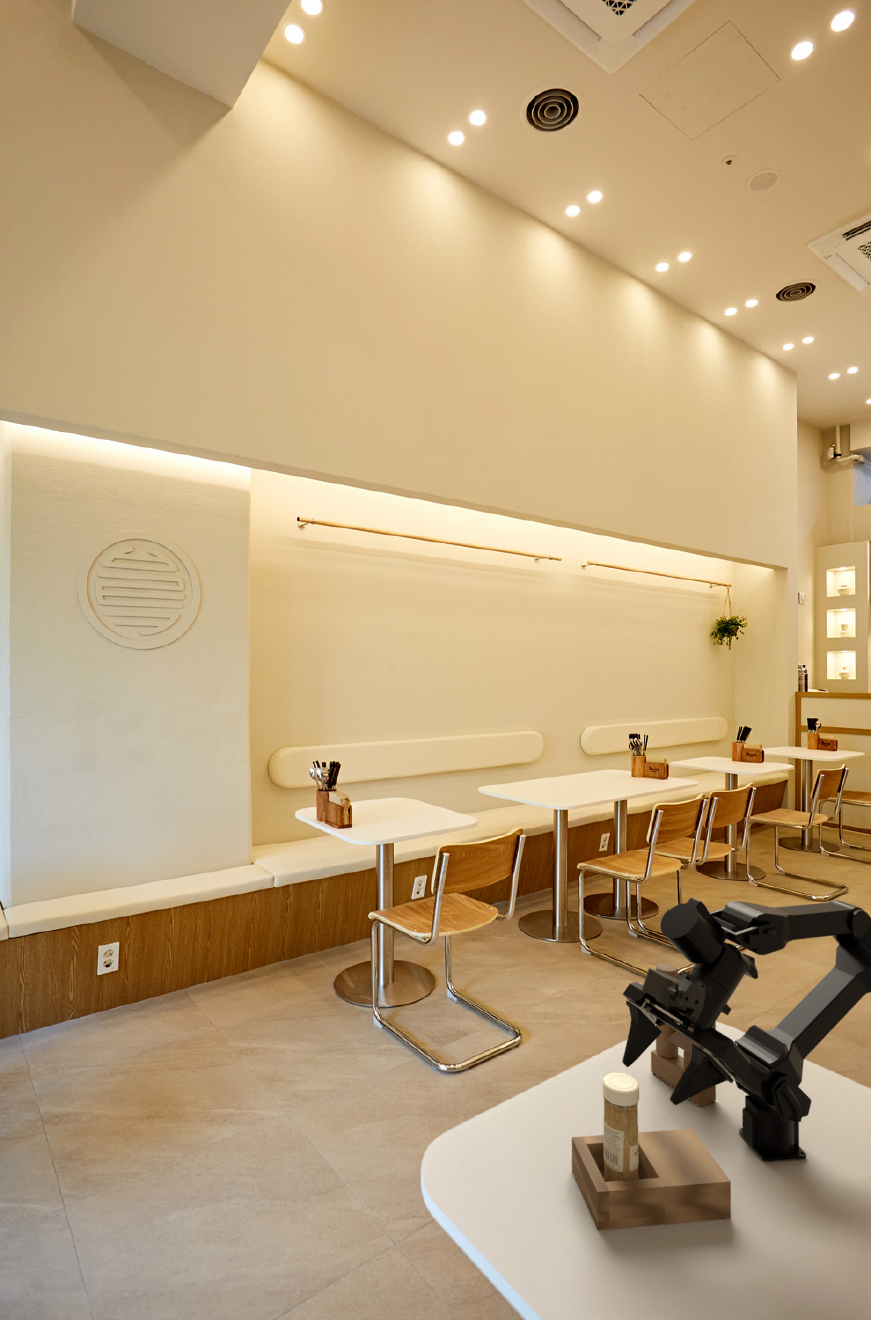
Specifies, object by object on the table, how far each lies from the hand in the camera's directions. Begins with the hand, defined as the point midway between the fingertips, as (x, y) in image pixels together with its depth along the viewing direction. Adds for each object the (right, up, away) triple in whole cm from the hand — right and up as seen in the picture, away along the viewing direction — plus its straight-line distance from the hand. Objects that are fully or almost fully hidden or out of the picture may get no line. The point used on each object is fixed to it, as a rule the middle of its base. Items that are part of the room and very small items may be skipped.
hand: (647, 1083), depth 91 cm
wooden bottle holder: (-1, -13, -2) cm, 13 cm away
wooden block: (+12, -14, +22) cm, 29 cm away
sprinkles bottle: (-4, -12, -2) cm, 13 cm away
